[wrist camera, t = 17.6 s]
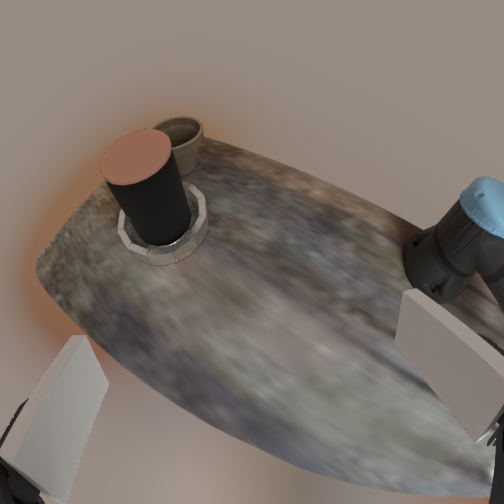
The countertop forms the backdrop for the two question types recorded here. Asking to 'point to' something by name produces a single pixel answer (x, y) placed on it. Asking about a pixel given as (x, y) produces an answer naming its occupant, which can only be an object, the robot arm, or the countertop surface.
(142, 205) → the coffee jar
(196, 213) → the cup bracket
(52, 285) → the countertop surface
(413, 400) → the countertop surface
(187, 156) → the flower pot
